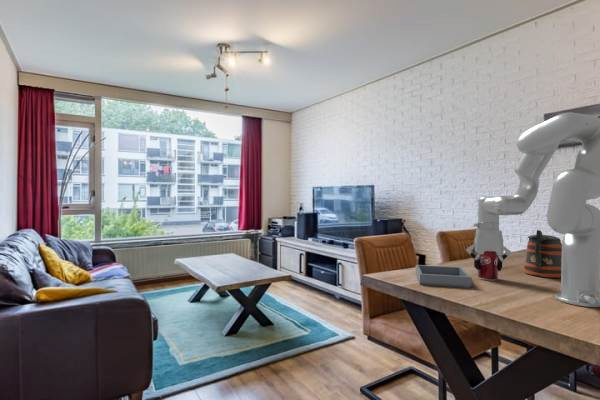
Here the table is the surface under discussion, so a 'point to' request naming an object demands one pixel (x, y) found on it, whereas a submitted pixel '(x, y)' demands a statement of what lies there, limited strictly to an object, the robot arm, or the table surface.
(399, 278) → the table surface
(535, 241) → the beer stein
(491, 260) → the soda can
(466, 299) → the table surface
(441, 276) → the tray
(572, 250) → the robot arm
